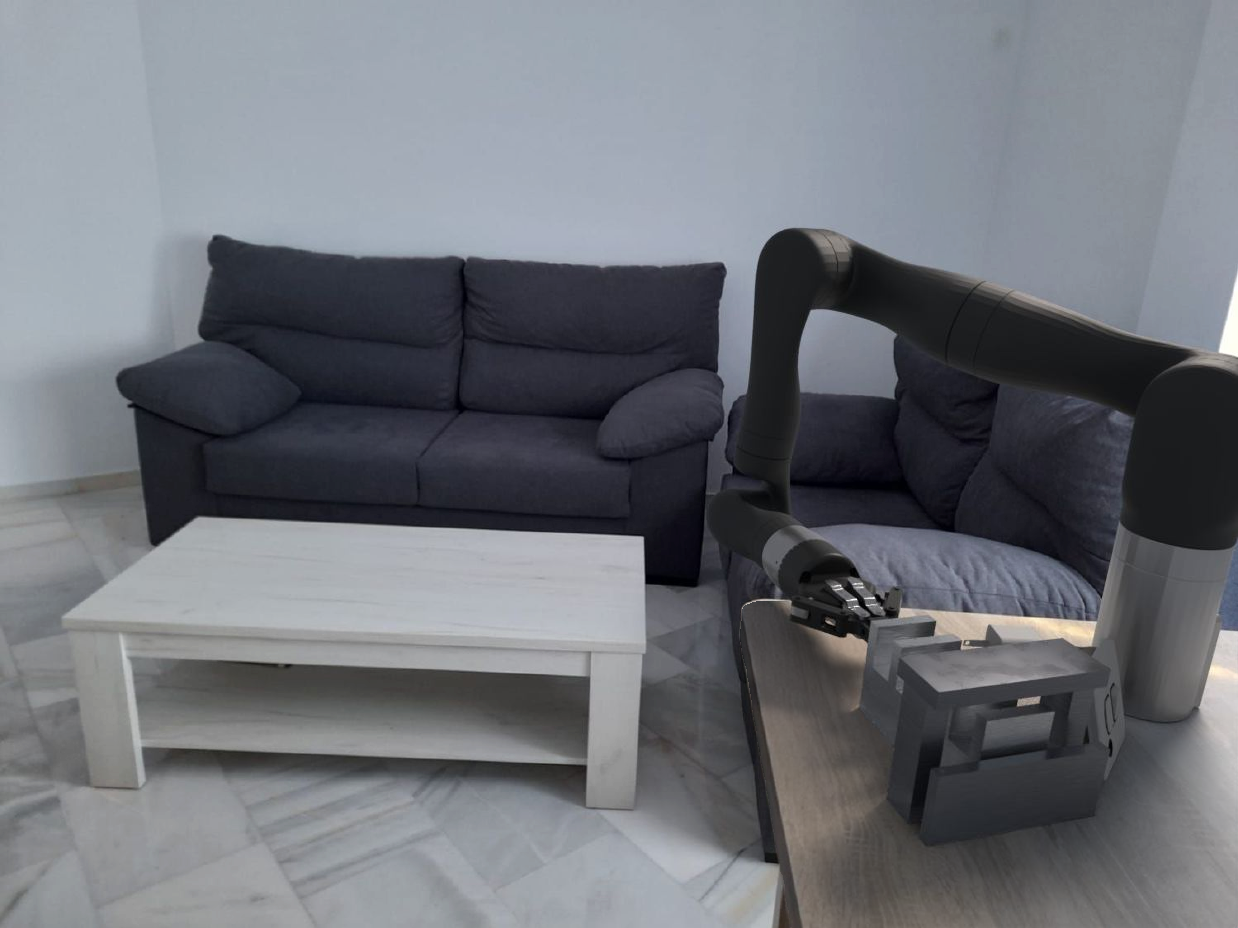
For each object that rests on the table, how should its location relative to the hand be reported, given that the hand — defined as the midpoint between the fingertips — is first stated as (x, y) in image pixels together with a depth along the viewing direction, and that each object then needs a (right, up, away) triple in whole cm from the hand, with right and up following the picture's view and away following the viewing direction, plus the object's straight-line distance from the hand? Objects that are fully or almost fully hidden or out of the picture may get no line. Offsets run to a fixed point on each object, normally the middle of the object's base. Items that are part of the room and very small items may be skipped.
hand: (894, 646), depth 81 cm
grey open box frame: (+3, -10, -11) cm, 15 cm away
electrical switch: (+15, -8, -4) cm, 18 cm away
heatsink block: (+2, -8, -6) cm, 10 cm away
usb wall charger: (+14, -4, +9) cm, 17 cm away
